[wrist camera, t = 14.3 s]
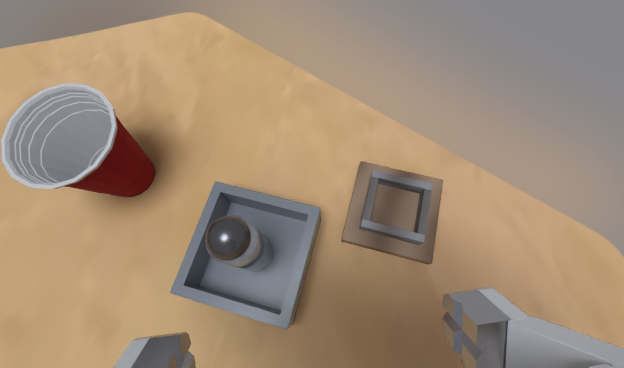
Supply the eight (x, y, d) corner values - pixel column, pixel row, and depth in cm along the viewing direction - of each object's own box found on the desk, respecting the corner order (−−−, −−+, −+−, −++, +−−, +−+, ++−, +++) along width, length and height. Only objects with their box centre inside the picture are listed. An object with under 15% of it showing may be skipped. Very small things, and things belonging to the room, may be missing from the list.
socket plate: (439, 183, 37) (448, 174, 34) (428, 264, 33) (437, 261, 31) (359, 165, 38) (362, 154, 35) (341, 241, 35) (342, 236, 32)
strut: (273, 235, 34) (248, 207, 23) (273, 271, 33) (246, 259, 22) (239, 236, 35) (198, 209, 23) (237, 272, 33) (192, 261, 22)
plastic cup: (86, 224, 37) (-20, 193, 26) (97, 146, 41) (9, 90, 29) (173, 212, 37) (105, 177, 26) (176, 136, 41) (118, 76, 29)
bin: (320, 218, 36) (320, 207, 31) (292, 324, 32) (287, 329, 27) (228, 194, 37) (215, 181, 33) (190, 292, 33) (169, 292, 29)
